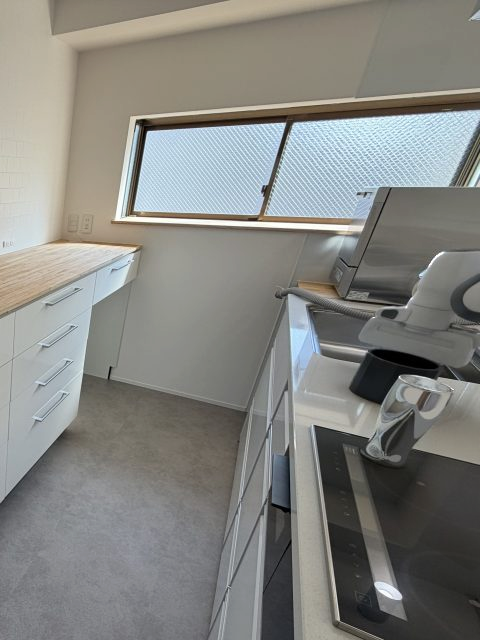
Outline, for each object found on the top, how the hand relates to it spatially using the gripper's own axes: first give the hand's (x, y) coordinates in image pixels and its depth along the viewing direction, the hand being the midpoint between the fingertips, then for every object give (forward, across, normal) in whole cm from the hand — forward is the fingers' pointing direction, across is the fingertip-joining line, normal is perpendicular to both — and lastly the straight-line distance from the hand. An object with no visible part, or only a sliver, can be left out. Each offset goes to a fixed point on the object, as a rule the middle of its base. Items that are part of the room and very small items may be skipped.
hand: (397, 369), depth 105 cm
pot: (+2, -4, +16) cm, 17 cm away
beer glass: (+2, -16, +48) cm, 51 cm away
